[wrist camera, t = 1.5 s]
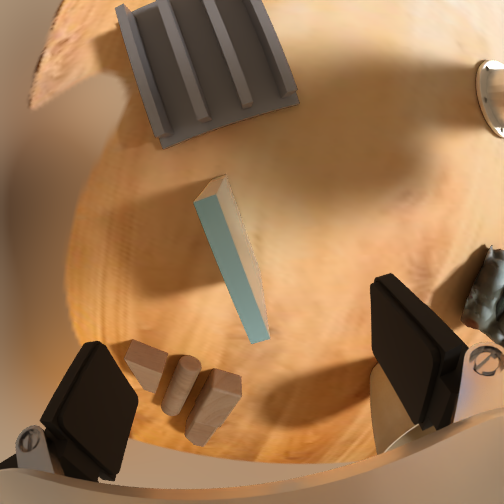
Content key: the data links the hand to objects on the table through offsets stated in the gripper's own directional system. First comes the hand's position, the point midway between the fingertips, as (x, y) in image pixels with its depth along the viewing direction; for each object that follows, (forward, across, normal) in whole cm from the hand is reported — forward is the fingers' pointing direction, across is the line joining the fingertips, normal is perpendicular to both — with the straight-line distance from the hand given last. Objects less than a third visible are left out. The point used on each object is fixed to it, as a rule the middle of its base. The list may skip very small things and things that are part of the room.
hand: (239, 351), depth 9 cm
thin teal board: (+24, 0, +2) cm, 24 cm away
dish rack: (+24, -1, -18) cm, 30 cm away
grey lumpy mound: (+24, -37, +21) cm, 49 cm away
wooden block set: (+25, +17, +26) cm, 40 cm away
